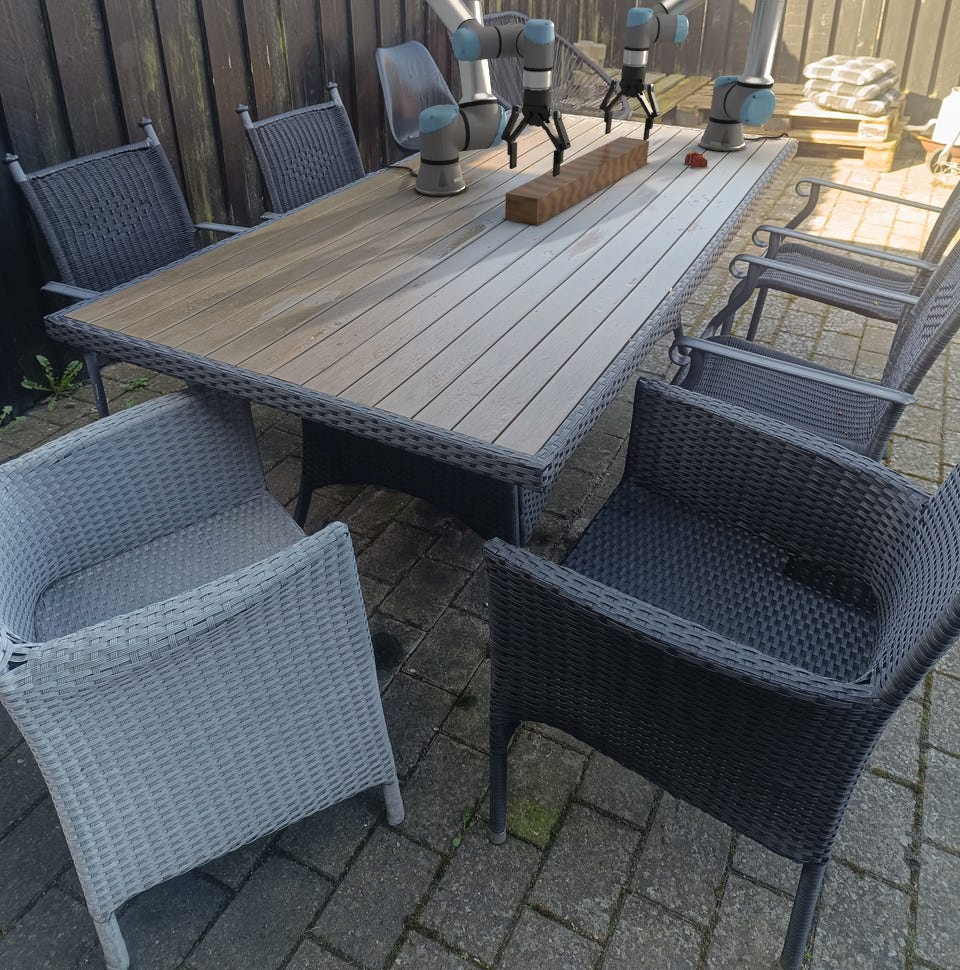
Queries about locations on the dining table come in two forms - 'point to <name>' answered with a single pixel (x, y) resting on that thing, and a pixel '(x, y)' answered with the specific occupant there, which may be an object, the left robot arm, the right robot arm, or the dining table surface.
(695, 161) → the dark red rounded lump
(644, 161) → the thick board
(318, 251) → the dining table surface
